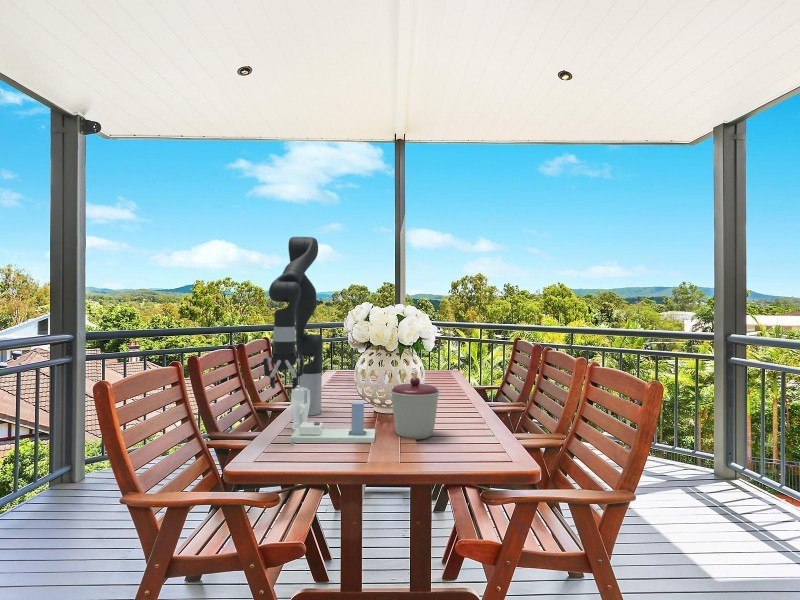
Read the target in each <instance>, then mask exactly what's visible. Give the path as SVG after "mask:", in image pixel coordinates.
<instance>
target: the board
mask: <svg viewBox="0 0 800 600" xmlns="http://www.w3.org/2000/svg"><path fill="white" fill-rule="evenodd" d="M289 438H290V439H289V441H290V442H289V445H290V444H295V445H296V443H362V444H363V443H365V444H366V443H367V444H368V443H375V439H376V429H375V428H364V435H363V436H358V435H351V428H322V431H321V433H320V435H299V428H296V430H295V431H294V430H293V433H292V435H291V436H290V437H289Z"/></svg>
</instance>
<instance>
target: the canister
mask: <svg viewBox="0 0 800 600" xmlns="http://www.w3.org/2000/svg"><path fill="white" fill-rule="evenodd" d="M409 382H410V383H403V384H402V383H401V384H397V385H395V386H393V387H392V388H390V389H389V393H391V402H392V403H391V404H392V414H393V423H394V424H393V425H394V431H395V433H396V435H398V436H399V437H402V438H407V439H415V440H419V441H420V440H425V439H428V438H430V437H432V435H433V433H434V430H435V424H436V418H437V409H438V402H439V394H441V390H440V389H438V387H436V386H434V385H431V384H425V383H424V384H423V383H421V379H420V378H419V377H411V379H410V380H409Z"/></svg>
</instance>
